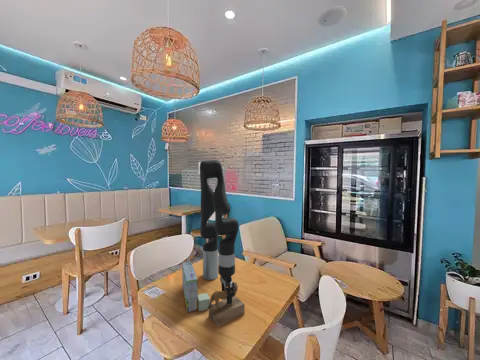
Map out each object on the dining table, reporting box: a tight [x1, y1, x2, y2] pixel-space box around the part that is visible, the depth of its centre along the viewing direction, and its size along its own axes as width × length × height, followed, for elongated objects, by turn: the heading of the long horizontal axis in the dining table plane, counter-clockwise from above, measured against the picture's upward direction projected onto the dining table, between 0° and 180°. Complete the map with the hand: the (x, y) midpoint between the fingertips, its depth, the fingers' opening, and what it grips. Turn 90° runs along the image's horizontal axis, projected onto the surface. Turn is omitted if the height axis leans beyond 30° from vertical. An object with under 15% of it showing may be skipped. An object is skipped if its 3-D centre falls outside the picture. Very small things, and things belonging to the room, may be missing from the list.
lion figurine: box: [207, 281, 239, 310], centre depth 94 cm, size 15×5×9 cm, turn 120°
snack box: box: [181, 261, 199, 313], centre depth 106 cm, size 21×6×15 cm, turn 21°
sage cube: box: [198, 292, 211, 312], centre depth 100 cm, size 5×5×5 cm
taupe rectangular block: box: [208, 295, 245, 328], centre depth 94 cm, size 8×14×5 cm, turn 126°
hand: (226, 298), depth 94 cm, fingers open, 8 cm apart
